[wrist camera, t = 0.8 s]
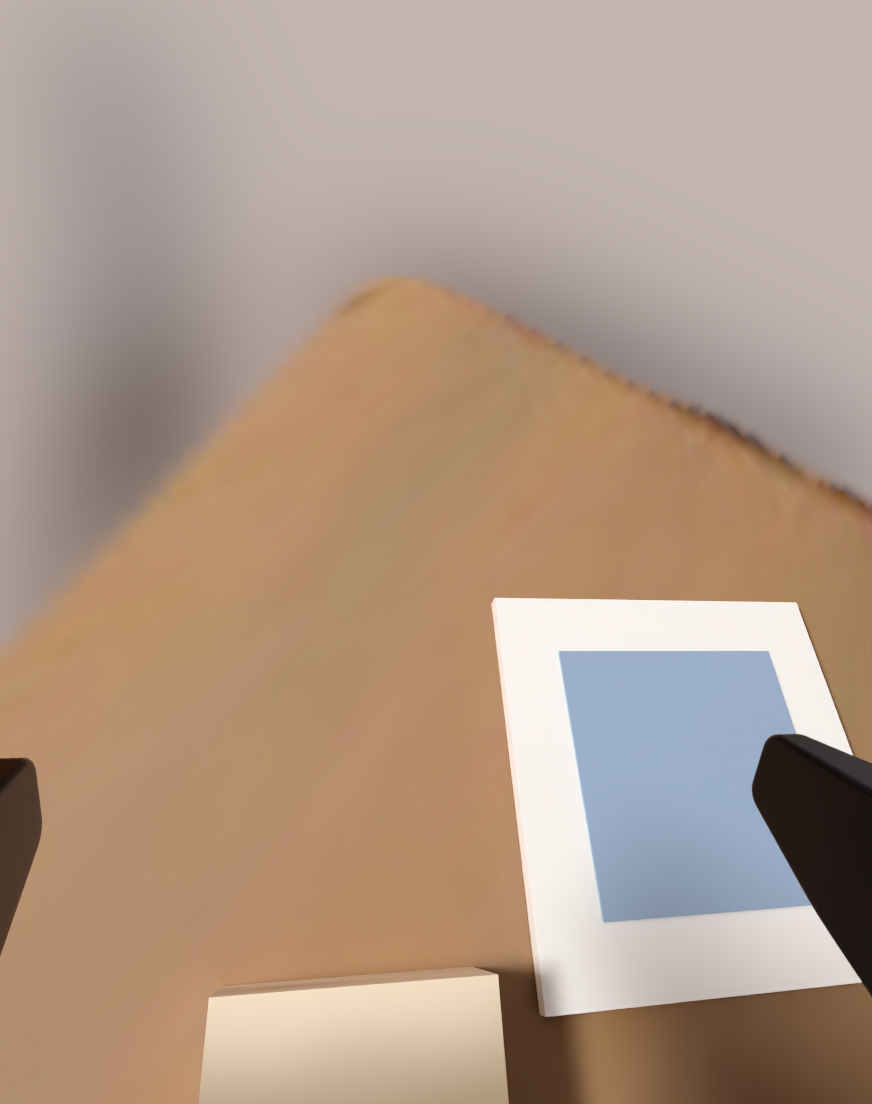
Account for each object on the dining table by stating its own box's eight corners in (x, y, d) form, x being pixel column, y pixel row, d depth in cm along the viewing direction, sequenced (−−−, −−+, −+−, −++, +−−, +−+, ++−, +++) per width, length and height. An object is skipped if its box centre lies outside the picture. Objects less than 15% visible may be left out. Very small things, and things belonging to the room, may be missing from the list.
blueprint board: (919, 973, 19) (937, 974, 19) (539, 1014, 17) (546, 1017, 17) (787, 607, 25) (797, 601, 25) (491, 604, 23) (495, 596, 22)
